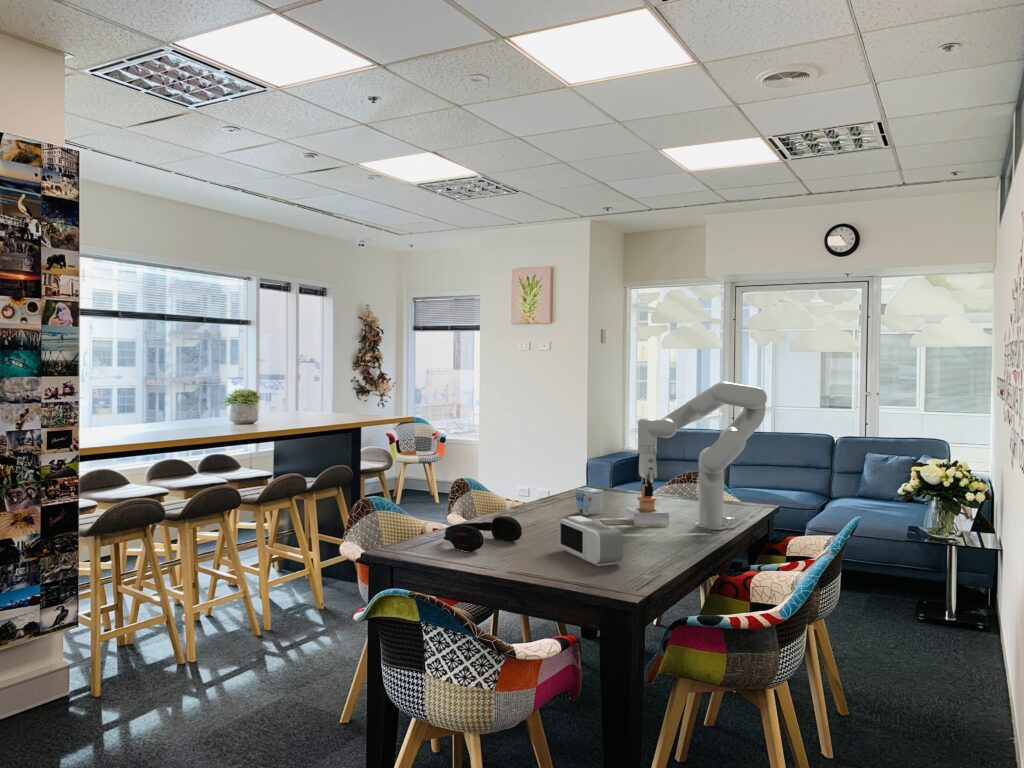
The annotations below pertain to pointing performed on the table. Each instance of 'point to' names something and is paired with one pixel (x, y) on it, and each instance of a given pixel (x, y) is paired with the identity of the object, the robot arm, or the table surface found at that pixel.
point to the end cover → (646, 501)
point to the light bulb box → (589, 501)
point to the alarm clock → (590, 540)
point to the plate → (639, 518)
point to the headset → (472, 538)
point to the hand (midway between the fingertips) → (647, 494)
